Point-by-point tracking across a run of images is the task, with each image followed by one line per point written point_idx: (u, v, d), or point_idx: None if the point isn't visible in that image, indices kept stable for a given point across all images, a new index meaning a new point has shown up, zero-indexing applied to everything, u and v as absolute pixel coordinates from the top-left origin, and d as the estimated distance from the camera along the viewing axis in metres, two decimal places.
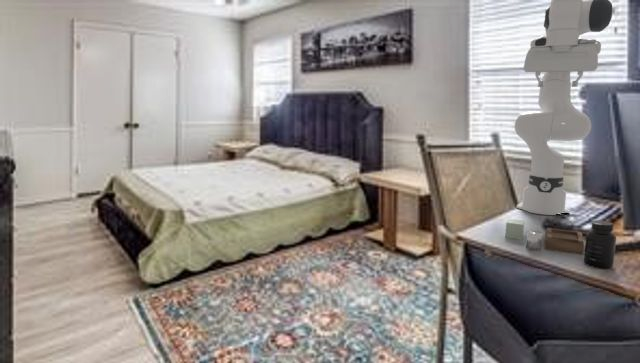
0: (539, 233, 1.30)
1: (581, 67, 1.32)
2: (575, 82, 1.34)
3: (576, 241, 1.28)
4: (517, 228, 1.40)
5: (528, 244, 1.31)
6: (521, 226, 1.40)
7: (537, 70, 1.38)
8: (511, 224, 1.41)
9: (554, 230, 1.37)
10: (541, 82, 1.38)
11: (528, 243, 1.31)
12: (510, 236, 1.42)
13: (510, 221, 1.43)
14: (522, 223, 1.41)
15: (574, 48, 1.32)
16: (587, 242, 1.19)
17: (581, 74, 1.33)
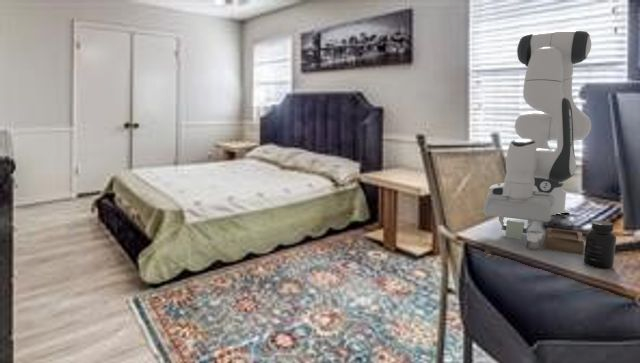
0: (539, 233, 1.30)
1: (536, 218, 1.38)
2: (525, 229, 1.41)
3: (576, 241, 1.28)
4: (517, 228, 1.40)
5: (528, 244, 1.31)
6: (521, 226, 1.39)
7: (495, 215, 1.43)
8: (511, 224, 1.41)
9: (554, 230, 1.37)
10: (504, 226, 1.43)
11: (528, 243, 1.31)
12: (510, 236, 1.42)
13: (510, 220, 1.43)
14: (522, 223, 1.41)
15: (529, 200, 1.38)
16: (587, 242, 1.19)
17: (531, 223, 1.39)
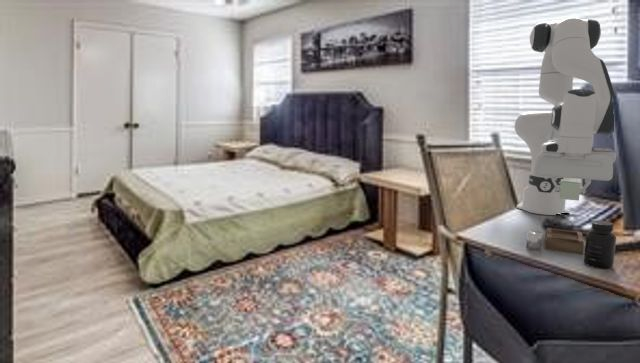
0: (539, 233, 1.30)
1: (595, 177, 1.25)
2: (582, 190, 1.28)
3: (576, 241, 1.28)
4: (573, 188, 1.27)
5: (528, 244, 1.31)
6: (578, 185, 1.27)
7: (548, 175, 1.31)
8: (566, 184, 1.28)
9: (554, 230, 1.37)
10: (558, 187, 1.31)
11: (528, 243, 1.31)
12: (565, 197, 1.29)
13: (565, 181, 1.30)
14: (579, 182, 1.28)
15: (588, 156, 1.25)
16: (587, 242, 1.19)
17: (589, 182, 1.27)
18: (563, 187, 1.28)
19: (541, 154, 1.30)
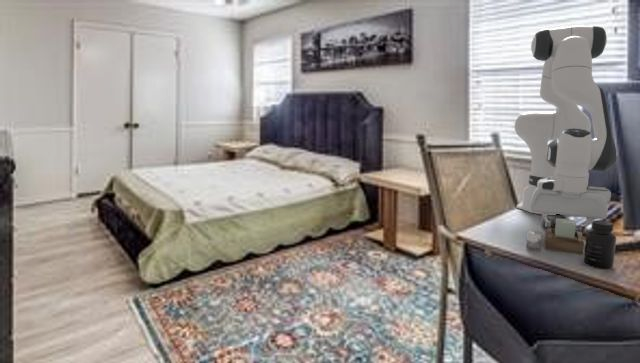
0: (539, 233, 1.30)
1: (590, 215, 1.27)
2: (584, 227, 1.29)
3: (576, 241, 1.28)
4: (569, 228, 1.30)
5: (528, 244, 1.31)
6: (573, 226, 1.29)
7: (544, 212, 1.33)
8: (562, 224, 1.30)
9: (554, 230, 1.37)
10: (548, 223, 1.34)
11: (528, 243, 1.31)
12: None
13: (560, 220, 1.33)
14: (574, 223, 1.30)
15: (583, 195, 1.27)
16: (587, 242, 1.19)
17: (590, 221, 1.28)
18: (558, 227, 1.31)
19: (537, 191, 1.32)
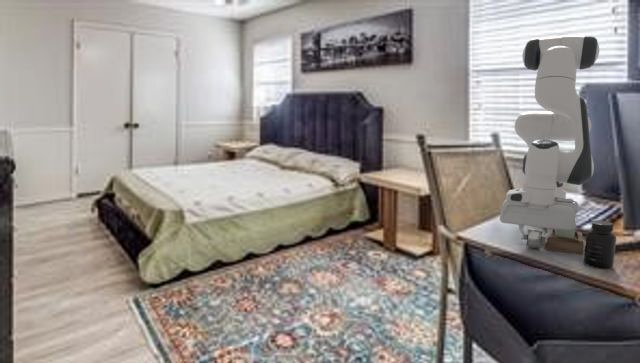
0: (539, 230, 1.30)
1: (558, 227, 1.26)
2: (544, 238, 1.29)
3: (576, 241, 1.28)
4: None
5: (528, 241, 1.31)
6: None
7: (513, 223, 1.32)
8: None
9: (554, 230, 1.37)
10: (525, 235, 1.32)
11: (528, 240, 1.31)
12: None
13: None
14: None
15: (551, 207, 1.26)
16: (587, 242, 1.19)
17: (550, 231, 1.28)
18: None
19: (506, 203, 1.31)
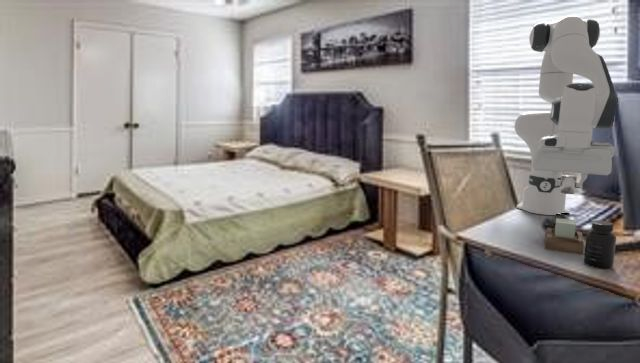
0: (573, 176, 1.29)
1: (594, 171, 1.25)
2: (579, 184, 1.28)
3: (576, 241, 1.28)
4: (569, 228, 1.30)
5: (562, 188, 1.30)
6: (573, 226, 1.29)
7: (546, 170, 1.30)
8: (562, 224, 1.30)
9: (554, 230, 1.37)
10: (558, 182, 1.30)
11: (562, 187, 1.30)
12: None
13: (560, 220, 1.33)
14: (574, 223, 1.30)
15: (586, 150, 1.25)
16: (587, 242, 1.19)
17: (585, 176, 1.27)
18: (558, 227, 1.31)
19: (540, 148, 1.29)
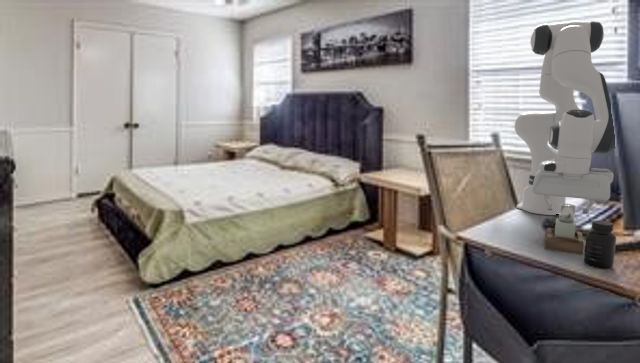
0: (572, 205, 1.30)
1: (593, 196, 1.26)
2: (586, 210, 1.28)
3: (576, 241, 1.28)
4: (568, 228, 1.30)
5: (561, 217, 1.31)
6: (573, 226, 1.29)
7: (546, 194, 1.32)
8: (562, 224, 1.30)
9: (554, 230, 1.37)
10: (550, 206, 1.32)
11: (561, 216, 1.31)
12: None
13: None
14: (574, 223, 1.30)
15: (585, 176, 1.26)
16: (587, 242, 1.19)
17: (592, 202, 1.27)
18: (558, 227, 1.31)
19: (539, 173, 1.31)
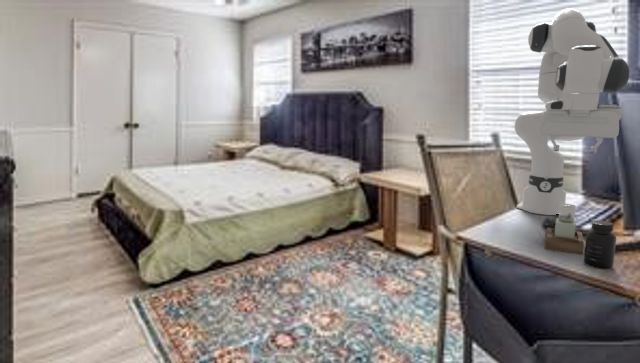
0: (572, 205, 1.30)
1: (601, 134, 1.22)
2: (594, 148, 1.25)
3: (576, 241, 1.28)
4: (568, 228, 1.30)
5: (561, 217, 1.31)
6: (573, 226, 1.29)
7: (552, 134, 1.28)
8: (562, 224, 1.30)
9: (554, 230, 1.37)
10: (557, 146, 1.29)
11: (561, 216, 1.31)
12: None
13: None
14: (574, 223, 1.30)
15: (593, 113, 1.22)
16: (587, 242, 1.19)
17: (600, 140, 1.23)
18: (558, 227, 1.31)
19: (545, 112, 1.27)
